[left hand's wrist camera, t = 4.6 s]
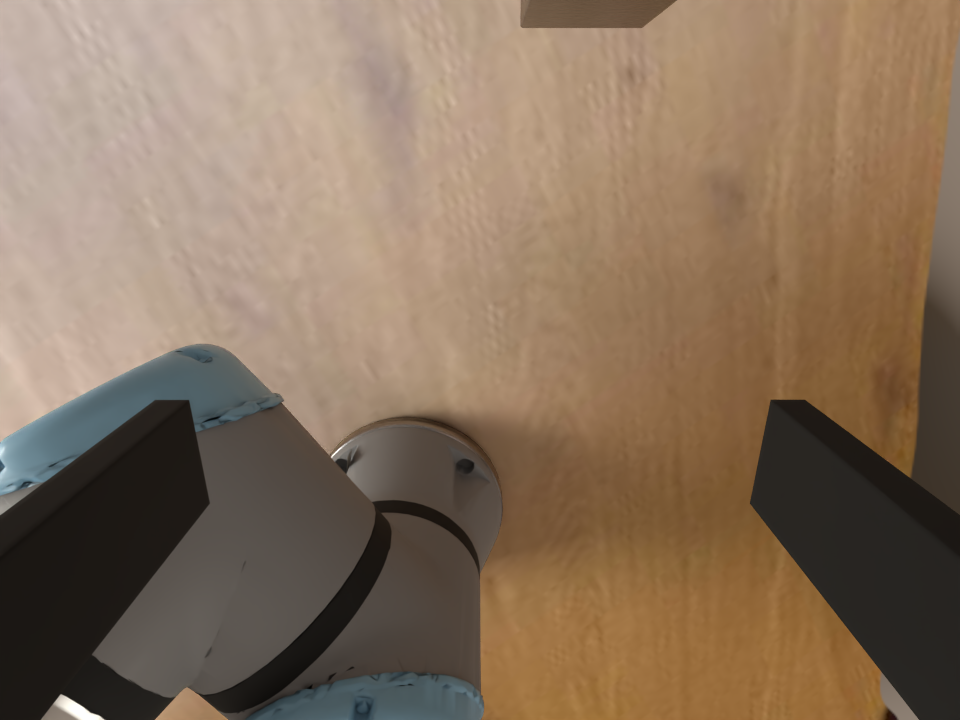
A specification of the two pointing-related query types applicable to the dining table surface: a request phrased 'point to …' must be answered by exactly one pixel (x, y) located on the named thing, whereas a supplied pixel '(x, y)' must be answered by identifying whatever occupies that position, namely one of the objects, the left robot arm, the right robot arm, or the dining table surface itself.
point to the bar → (590, 13)
